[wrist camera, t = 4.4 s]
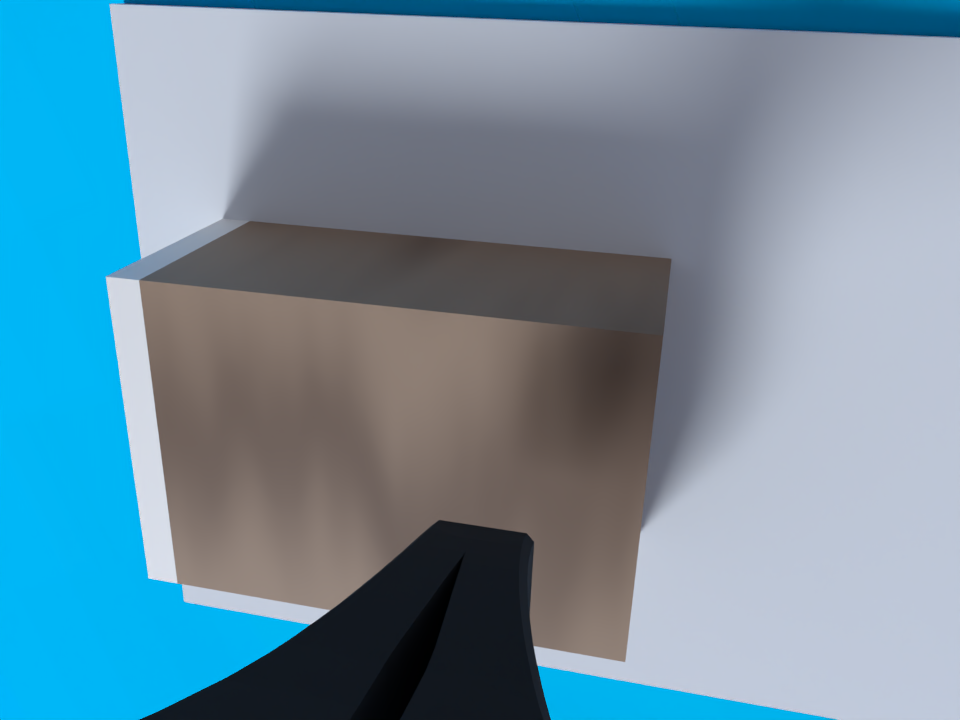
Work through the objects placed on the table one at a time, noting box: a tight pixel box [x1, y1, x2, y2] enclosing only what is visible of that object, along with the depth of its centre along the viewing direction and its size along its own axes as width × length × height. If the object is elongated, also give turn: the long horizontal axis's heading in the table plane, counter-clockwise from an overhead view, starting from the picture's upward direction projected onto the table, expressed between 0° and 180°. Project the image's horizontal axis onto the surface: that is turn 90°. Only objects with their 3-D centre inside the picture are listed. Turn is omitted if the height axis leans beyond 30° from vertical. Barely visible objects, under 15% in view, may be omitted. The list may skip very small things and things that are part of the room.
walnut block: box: [106, 219, 671, 662], centre depth 17 cm, size 6×4×9 cm
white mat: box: [110, 4, 960, 720], centre depth 18 cm, size 14×18×1 cm
